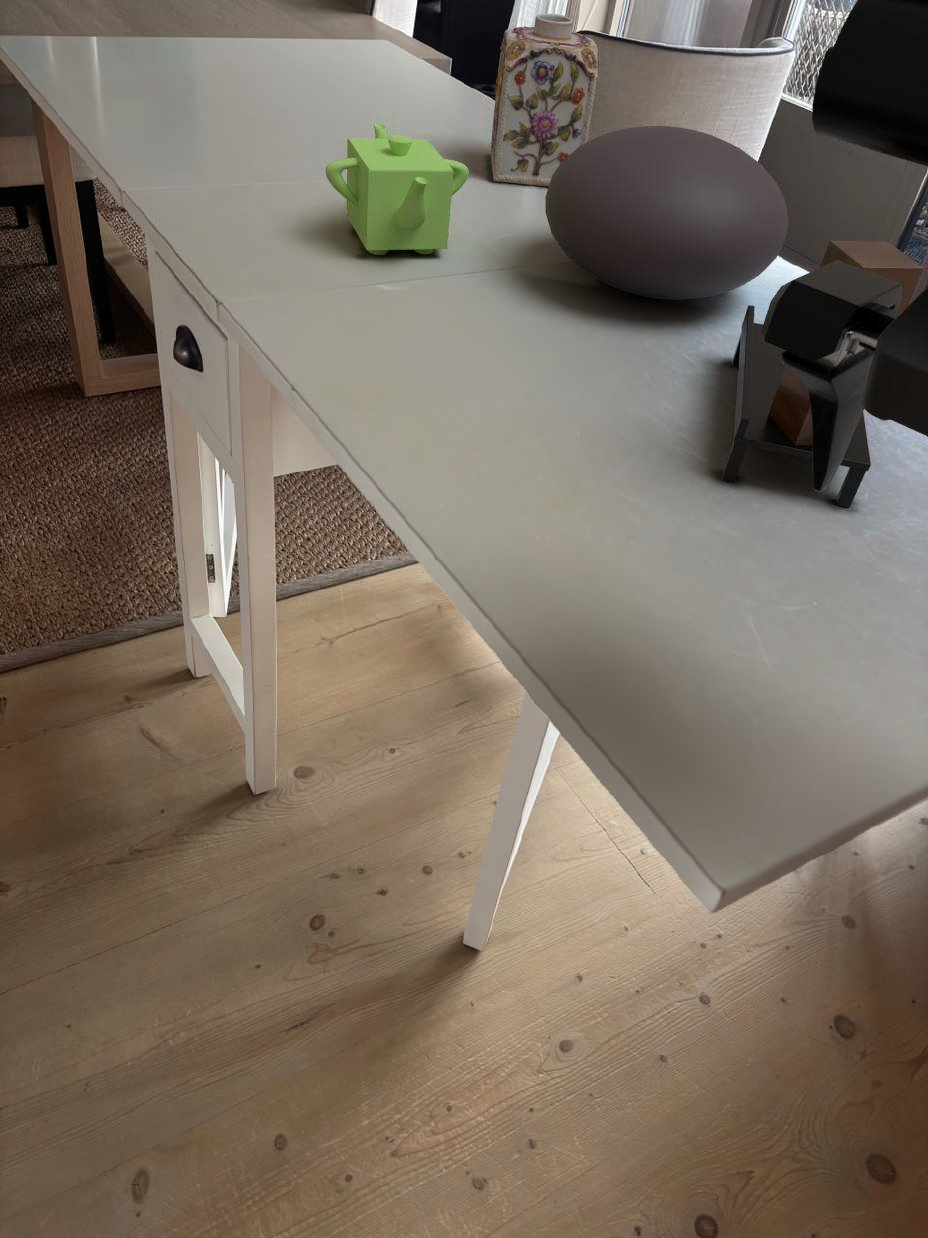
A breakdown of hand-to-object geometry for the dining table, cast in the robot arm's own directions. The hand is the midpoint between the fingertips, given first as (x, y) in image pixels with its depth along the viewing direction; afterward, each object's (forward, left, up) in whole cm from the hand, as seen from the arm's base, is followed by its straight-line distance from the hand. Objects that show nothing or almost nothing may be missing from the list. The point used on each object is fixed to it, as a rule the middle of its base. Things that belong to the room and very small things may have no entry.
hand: (902, 530), depth 47 cm
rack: (+1, -34, -13) cm, 36 cm away
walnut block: (+1, -26, -9) cm, 28 cm away
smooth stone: (+16, -60, -13) cm, 63 cm away
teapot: (+44, -58, -13) cm, 74 cm away
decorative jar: (+35, -91, -13) cm, 98 cm away
